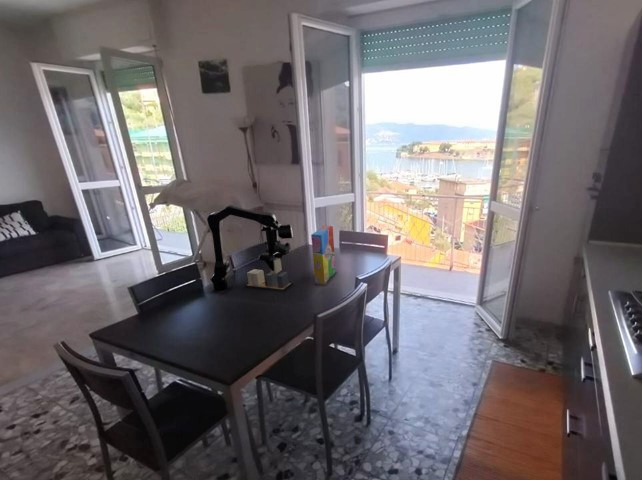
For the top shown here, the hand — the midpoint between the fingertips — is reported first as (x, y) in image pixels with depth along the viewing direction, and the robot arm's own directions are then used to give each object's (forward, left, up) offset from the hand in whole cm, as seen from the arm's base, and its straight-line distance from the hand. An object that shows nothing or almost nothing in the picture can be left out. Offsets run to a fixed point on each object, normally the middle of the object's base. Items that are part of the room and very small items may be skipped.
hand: (276, 268), depth 183 cm
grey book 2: (0, -3, -9) cm, 10 cm away
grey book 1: (0, +3, -9) cm, 10 cm away
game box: (+18, -19, -10) cm, 28 cm away
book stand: (0, +6, -10) cm, 12 cm away
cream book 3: (0, 0, -2) cm, 2 cm away
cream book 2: (0, +11, -9) cm, 15 cm away
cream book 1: (0, +15, -9) cm, 17 cm away
